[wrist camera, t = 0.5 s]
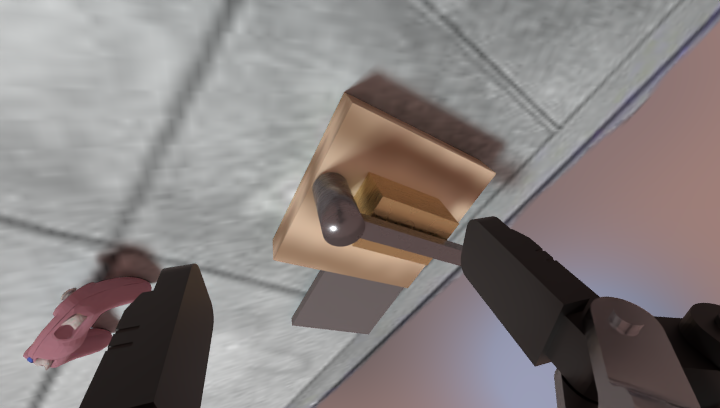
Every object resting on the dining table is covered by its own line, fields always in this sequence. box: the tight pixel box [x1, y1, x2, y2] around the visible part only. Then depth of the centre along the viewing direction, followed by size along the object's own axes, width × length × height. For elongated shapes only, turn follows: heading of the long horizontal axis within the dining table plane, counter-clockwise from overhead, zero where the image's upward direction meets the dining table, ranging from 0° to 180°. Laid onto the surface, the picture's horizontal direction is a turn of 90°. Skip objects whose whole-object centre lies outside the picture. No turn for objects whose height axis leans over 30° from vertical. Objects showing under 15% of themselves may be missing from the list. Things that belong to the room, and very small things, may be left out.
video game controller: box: [23, 277, 152, 370], centre depth 29 cm, size 10×5×7 cm, turn 136°
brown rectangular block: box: [352, 172, 459, 265], centre depth 28 cm, size 5×8×4 cm, turn 61°
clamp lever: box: [312, 172, 463, 266], centre depth 27 cm, size 18×3×6 cm, turn 61°
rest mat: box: [292, 270, 404, 334], centre depth 39 cm, size 10×11×1 cm
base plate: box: [273, 92, 496, 288], centre depth 31 cm, size 16×16×3 cm
